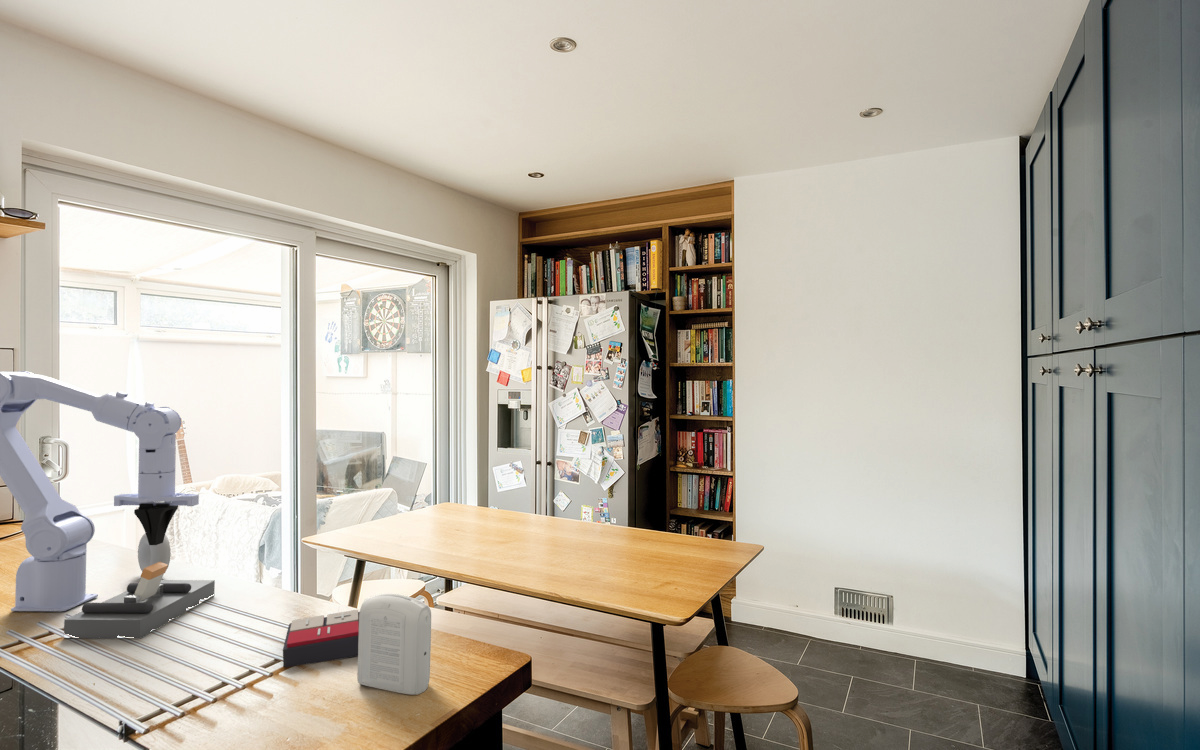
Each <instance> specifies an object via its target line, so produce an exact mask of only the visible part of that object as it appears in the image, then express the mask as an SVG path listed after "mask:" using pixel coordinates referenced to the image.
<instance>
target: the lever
mask: <svg viewBox="0 0 1200 750" xmlns="http://www.w3.org/2000/svg"><path fill="white" fill-rule="evenodd" d="M167 567H168V568H169V566H168V565H167V564H165V563H162V562H158V563H155V564H153V565H151V566H148V567H146V568H144V569H143V571H142V570H141V575H140V578H139V582H138V583H139V584H138V586H137V589H136V591H135V594H134V595H140V602H142V601H144V600H146V599H148V598H150V597H152V596H154V595H155V594H156V592H157V589H158V587H159V584H160V582H161V580H163V577H164V574H166V571H167V570H168V568H167ZM166 569H167V570H166Z"/></svg>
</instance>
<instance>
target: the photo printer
mask: <svg viewBox="0 0 1200 750" xmlns="http://www.w3.org/2000/svg"><path fill="white" fill-rule="evenodd" d="M359 612H360V613H359V639H358V656H357V675H356V676H357V683H358V684H359V685H363V686H366V687H371V688H376V689H381V690H385V691H389V692H395V693H399V694H404V695H405V694H406V695H415V696H416V695H417V696H418V695H420V694H422V693H424V692H425V691H426V690H427V689H428V687H429V683H430V678H431V677H430V676H431V651H432V650H431V649H432V644H431V643H432V610H431V607H430V606H429V605H428V604H426V603H425V602H422V601H421V600H419V599H417V598H414V597H412V596H408V595H404V594H399V593H381V594H375V595H371V596H370V597H368V598H365V599H364V600H363V602H362V603H361V606H360V609H359Z"/></svg>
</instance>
